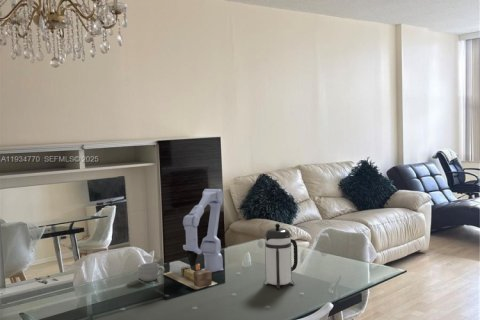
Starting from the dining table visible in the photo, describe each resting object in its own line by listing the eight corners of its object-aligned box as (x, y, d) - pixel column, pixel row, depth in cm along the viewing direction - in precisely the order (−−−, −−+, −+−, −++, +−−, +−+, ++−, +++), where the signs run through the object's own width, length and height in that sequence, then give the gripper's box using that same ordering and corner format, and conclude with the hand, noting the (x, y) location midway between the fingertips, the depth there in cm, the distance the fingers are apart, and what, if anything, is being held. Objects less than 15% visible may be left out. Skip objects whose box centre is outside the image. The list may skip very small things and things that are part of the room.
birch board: (183, 269, 263) (183, 268, 263) (218, 284, 236) (217, 283, 236) (162, 274, 255) (162, 273, 255) (195, 290, 229) (195, 289, 229)
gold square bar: (185, 272, 251) (185, 257, 250) (205, 281, 236) (205, 265, 235) (180, 273, 249) (180, 258, 249) (200, 282, 234) (200, 266, 233)
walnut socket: (206, 281, 239) (205, 269, 239) (211, 284, 235) (211, 271, 235) (194, 285, 235) (193, 271, 235) (199, 287, 231) (199, 274, 231)
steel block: (179, 270, 259) (178, 260, 259) (190, 275, 250) (190, 265, 249) (169, 272, 256) (169, 262, 255) (181, 278, 246) (180, 267, 246)
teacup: (134, 281, 245) (133, 266, 244) (147, 275, 254) (147, 260, 254) (156, 285, 238) (155, 269, 238) (169, 278, 248) (168, 263, 247)
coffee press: (295, 290, 225) (293, 227, 223) (261, 289, 228) (259, 226, 226) (298, 278, 242) (297, 219, 240) (266, 277, 245) (265, 219, 243)
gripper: (177, 237, 245) (178, 263, 246) (192, 242, 233) (193, 270, 234) (189, 235, 249) (190, 261, 250) (204, 240, 237) (205, 267, 238)
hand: (192, 265), depth 242 cm, fingers closed
